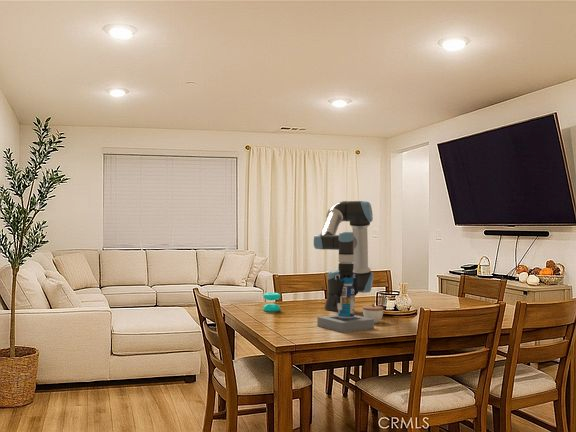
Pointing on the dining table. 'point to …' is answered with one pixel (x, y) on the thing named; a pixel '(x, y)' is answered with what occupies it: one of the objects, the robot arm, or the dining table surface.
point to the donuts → (271, 306)
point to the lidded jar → (373, 312)
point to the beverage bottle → (347, 299)
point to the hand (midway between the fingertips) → (345, 308)
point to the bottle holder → (345, 323)
